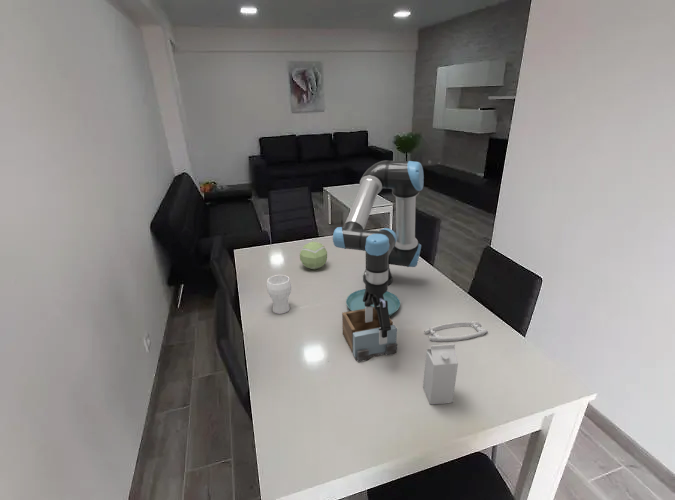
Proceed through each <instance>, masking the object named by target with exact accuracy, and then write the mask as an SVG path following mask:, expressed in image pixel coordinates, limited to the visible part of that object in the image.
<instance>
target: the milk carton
mask: <svg viewBox="0 0 675 500" xmlns="http://www.w3.org/2000/svg"><path fill="white" fill-rule="evenodd" d="M455 347H456V344H455V343H451V344H448V343H447V344H437V345H430V348H428V349H426V350H425V360H424V361H425V362H424V371H423V380H422V382H423V384H422V388H423V391H424V393H425V395H426V398H427V400H428V402H429V405H440V404H441V405H442V404H452V403H453V402H454V395H455V388H456V380H457V372H458V365H459V361H458V356H457V353H456V352H457V351H456V349H455Z"/></svg>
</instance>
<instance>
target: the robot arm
mask: <svg viewBox="0 0 675 500" xmlns="http://www.w3.org/2000/svg"><path fill="white" fill-rule="evenodd" d="M424 176H425V175H424V167H423V165H422V163H421V162H420V161H412V160H407V161H406V160H405V161H404V160H386V159H385V160H381V161H378V162H376V163H374V164H373V165H371V166H370V167H368V168H367V169H366V171H365V172H364V173H363V175H362V176H361V178H360V180H359V189H358V191H357V193H356V197H355V199H354V200H353V204H352V205H351V209H350V211H349V214H348V216H347V217H346V220H345V222H344V226H338V227H336V228H335V229H334V230H333V234H332V242H333V245H334V247H335V248H338V249H339V248H340V249H344V250H357V251H363V252H365V270H364V272H363V276H362V281H363V283H364V284H365V285H364V286H365V288H364V289H366V290H365V294H364V297H363V302H365V303H364V304H365V306H366V307H365V322H366V323H367V322H372V321H373V306H370V305H373V303H374V308H375V310H377V315H378V319H379V323H380V328H379V344H380V345H381V344H386V343H387V331H389V330H391V325H390V319H391V318H390V316H389V312H388V302H387V300H386V301H384V297H383V294H384V293H385V292H386V291H388V288H389V287H388V286H390V284H392V283H393V275H392V271H391V269H390V265H392V266H401V267H407V268H409V267H410V268H415V267H417V266H418V262H419V260H420V259H419V258H420V254H421V249H422V244H420V243H419V241H418V239H417V238H416V199H417V196H418V195H420V191H422V190H423V189H424V182H425V181H424V179H425V177H424ZM383 189H386V190H387V189H388V190H389V189H390V190H391V193H392V195H393V196H394V197H395V225H396V226H395V227H396V228H395V229H396V231H394V230H393V229H391V228H387V227H384V228H382V229H380V230H372V229H368V230H367V229H365V228H366V225H367V222H368V220H369V217H370V214H371V211H372V209H373V206H374V205H375V204H374V203H375V201H376V198H377V196H378V194H379V193H381V191H382V190H383ZM377 306H380V307H377ZM389 318H390V319H389Z"/></svg>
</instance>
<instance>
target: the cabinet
mask: <svg viewBox="0 0 675 500" xmlns="http://www.w3.org/2000/svg"><path fill="white" fill-rule="evenodd" d="M378 307H380V306H378ZM341 314H342V318H341V319H342V335H343V338H344V340H345V342H346V343H347V346H348V347H349V349H350V351H351V354H352V356H353V357H354V355H353V333H354V332H359V331H365V330H370V329H375V328H380V323H379V319H378V315H377V310H375V308H374V307H373V321H372V322H367V323H366V322H365V309H361V310H355V311H350V310H349V311H344V312H342V313H341ZM389 319H390V325H394V322H393V320H392V319H391V318H390V317H389ZM397 354H398V342H396V343H394V344H389V345H386V351H385V352H380V353H375V354H370V355H369V350H368V349H364V350H359V351H357V357H356V358H355V357H354V359H355V361H357V362H358V363H359V362H364V361H369V360H370V359H369V358H373V357H378V356H383V355H386V356H387V357H388V356H393V355H397Z"/></svg>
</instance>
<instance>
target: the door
mask: <svg viewBox="0 0 675 500" xmlns="http://www.w3.org/2000/svg"><path fill="white" fill-rule="evenodd" d="M397 334H398V329H397V327H396V325H395V324H393V325H391V330H389V331H387V343H386V344H381V345H380V344H379V328H375V329H370V330H365V331H359V332H354V333H353V353H352V356H353V355H354V356H353V357H355V358H356V357H357V351H359V350H364V349H368V350H369V355H370V354H375V353H380V352H385V351H386V345H389V344H394V343H397V339H398V338H397V336H398V335H397ZM355 358H354V359H355Z"/></svg>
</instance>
